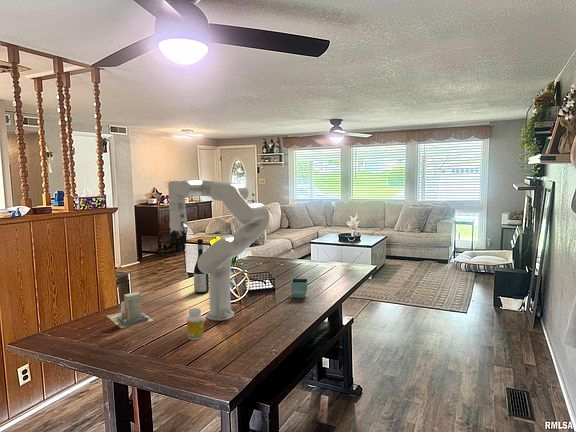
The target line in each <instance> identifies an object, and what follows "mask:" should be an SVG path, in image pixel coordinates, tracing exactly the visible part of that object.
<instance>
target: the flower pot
mask: <svg viewBox="0 0 576 432" xmlns="http://www.w3.org/2000/svg"><path fill="white" fill-rule="evenodd" d="M308 282H309V279H308V278H292V279H291V281H290V289H291V294H292V296H293V298H295V299H305V297H306V295H307V291H308Z"/></svg>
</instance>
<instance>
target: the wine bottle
mask: <svg viewBox="0 0 576 432" xmlns="http://www.w3.org/2000/svg"><path fill="white" fill-rule="evenodd" d="M203 240H204V239H202V238H200V239H197V240H196V241H197V260H196V263H195V265H194V268H193V285H194V287H193V291H194V293H195V294H197V295H204V294H207V293H209V276H210V274H205V273H203V272H201V271H200V270H199V268H198V259H199V257H200V256H201V254H202V253H204V247H203V246H204V241H203Z"/></svg>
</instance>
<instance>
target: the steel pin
mask: <svg viewBox="0 0 576 432" xmlns="http://www.w3.org/2000/svg"><path fill="white" fill-rule="evenodd" d="M120 306H121V307H120V308H121V309H120V311H121V312H122V316H124V315H125V304H124V300H123V301H121V302H120Z"/></svg>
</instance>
